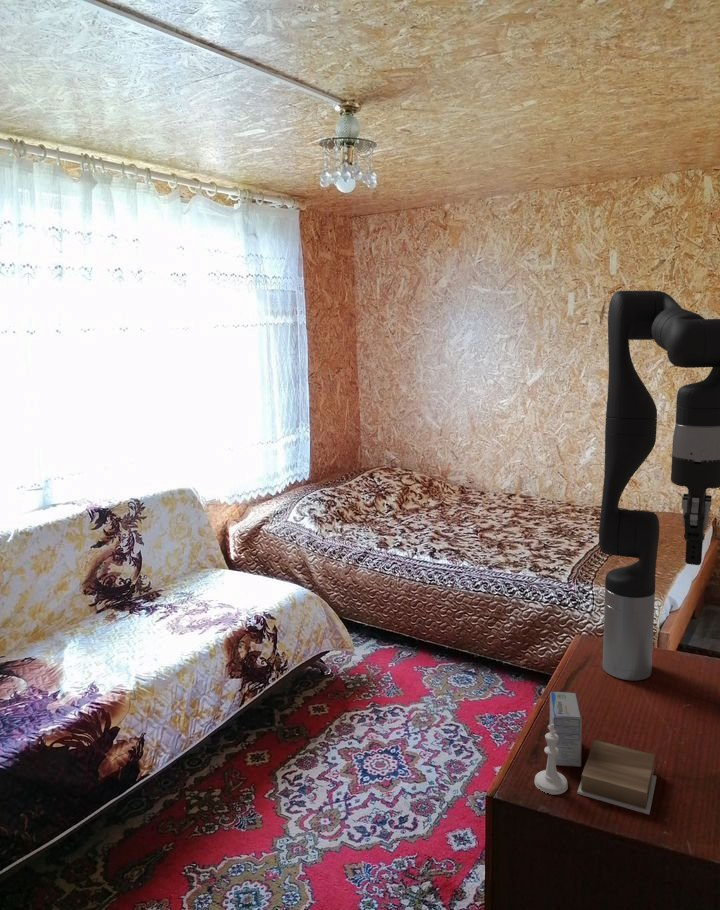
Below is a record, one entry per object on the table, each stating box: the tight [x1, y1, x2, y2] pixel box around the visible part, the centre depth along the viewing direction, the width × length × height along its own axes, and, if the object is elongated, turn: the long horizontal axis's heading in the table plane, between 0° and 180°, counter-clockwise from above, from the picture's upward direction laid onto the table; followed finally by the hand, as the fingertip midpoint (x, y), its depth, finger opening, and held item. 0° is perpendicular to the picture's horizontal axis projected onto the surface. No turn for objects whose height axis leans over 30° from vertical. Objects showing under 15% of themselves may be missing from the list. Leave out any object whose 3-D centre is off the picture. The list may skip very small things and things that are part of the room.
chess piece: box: [534, 723, 569, 796], centre depth 103 cm, size 5×5×10 cm
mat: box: [576, 774, 657, 815], centre depth 103 cm, size 9×10×1 cm
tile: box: [580, 739, 656, 809], centre depth 103 cm, size 3×9×10 cm
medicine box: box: [548, 691, 583, 768], centre depth 111 cm, size 8×4×9 cm, turn 168°
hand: (693, 563), depth 105 cm, fingers closed
